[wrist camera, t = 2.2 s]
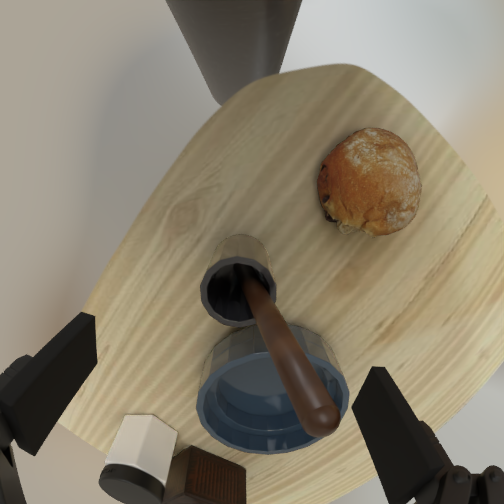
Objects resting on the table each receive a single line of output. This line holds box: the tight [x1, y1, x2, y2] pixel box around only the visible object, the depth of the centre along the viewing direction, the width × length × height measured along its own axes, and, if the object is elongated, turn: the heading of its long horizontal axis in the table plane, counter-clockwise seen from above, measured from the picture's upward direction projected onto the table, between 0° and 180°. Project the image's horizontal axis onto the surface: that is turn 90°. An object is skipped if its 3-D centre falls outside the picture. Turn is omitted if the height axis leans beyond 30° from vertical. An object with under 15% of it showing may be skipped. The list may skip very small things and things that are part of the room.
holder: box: [200, 234, 276, 327], centre depth 25 cm, size 5×6×8 cm
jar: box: [99, 415, 178, 504], centre depth 29 cm, size 9×8×12 cm
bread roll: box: [317, 128, 422, 238], centre depth 25 cm, size 10×10×8 cm
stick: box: [233, 263, 341, 438], centre depth 19 cm, size 2×2×20 cm
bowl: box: [196, 325, 350, 455], centre depth 29 cm, size 15×15×6 cm
